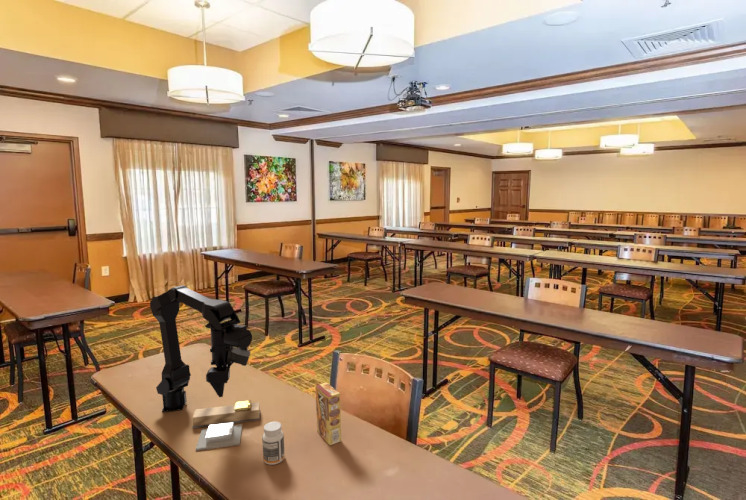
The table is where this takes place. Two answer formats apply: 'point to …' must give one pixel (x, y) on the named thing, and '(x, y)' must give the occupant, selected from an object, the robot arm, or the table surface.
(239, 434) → the mat
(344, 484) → the table surface
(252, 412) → the body
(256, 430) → the table surface
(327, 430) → the candy box
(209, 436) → the cap plate
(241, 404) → the gold flat block
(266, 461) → the pill bottle
